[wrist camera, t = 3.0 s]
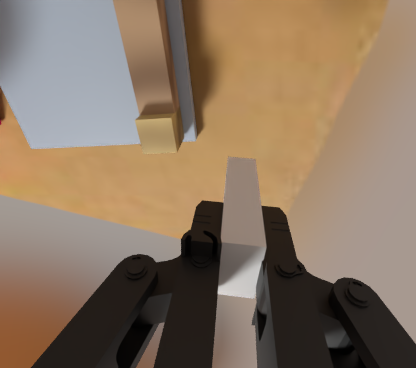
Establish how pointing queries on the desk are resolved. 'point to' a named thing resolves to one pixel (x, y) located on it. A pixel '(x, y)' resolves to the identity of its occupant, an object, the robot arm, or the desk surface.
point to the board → (79, 72)
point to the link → (151, 73)
